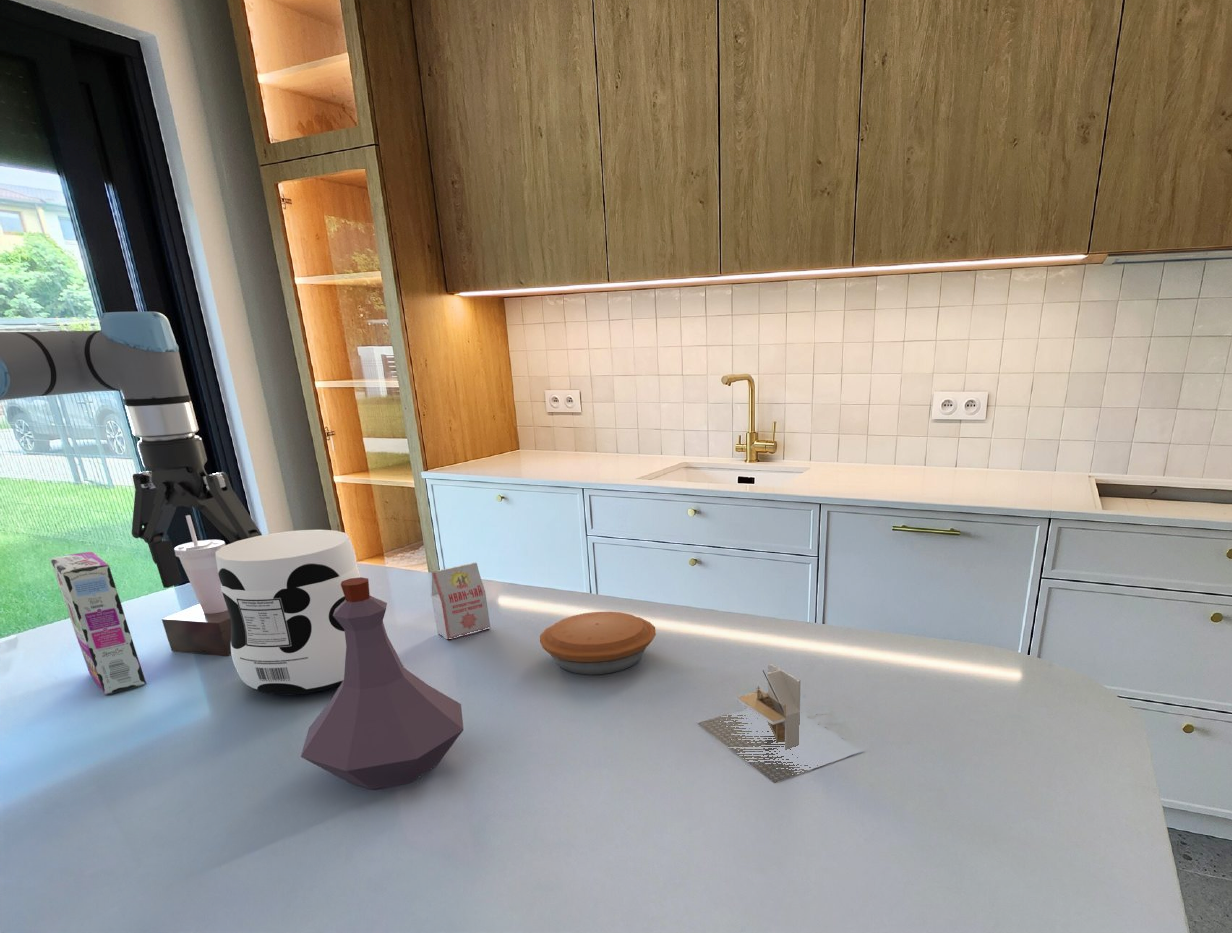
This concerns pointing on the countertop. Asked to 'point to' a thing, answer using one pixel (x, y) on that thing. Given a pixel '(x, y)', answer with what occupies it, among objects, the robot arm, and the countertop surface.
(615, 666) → the pie
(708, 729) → the architectural model
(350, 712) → the flask
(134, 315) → the robot arm
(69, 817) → the countertop surface
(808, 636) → the countertop surface
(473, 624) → the tea bag
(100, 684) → the candy bar box
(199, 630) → the walnut block
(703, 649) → the countertop surface
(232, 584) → the milk container
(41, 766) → the countertop surface
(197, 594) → the smoothie
